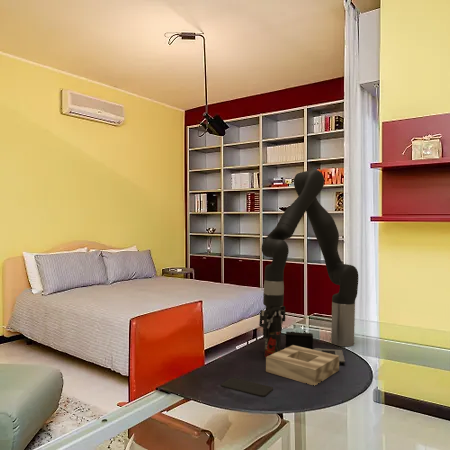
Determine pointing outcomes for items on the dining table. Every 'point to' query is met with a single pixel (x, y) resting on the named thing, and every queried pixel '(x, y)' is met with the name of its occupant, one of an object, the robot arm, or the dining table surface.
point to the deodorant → (273, 337)
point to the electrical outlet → (335, 352)
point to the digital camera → (299, 339)
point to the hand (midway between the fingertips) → (272, 335)
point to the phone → (247, 387)
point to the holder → (302, 364)
